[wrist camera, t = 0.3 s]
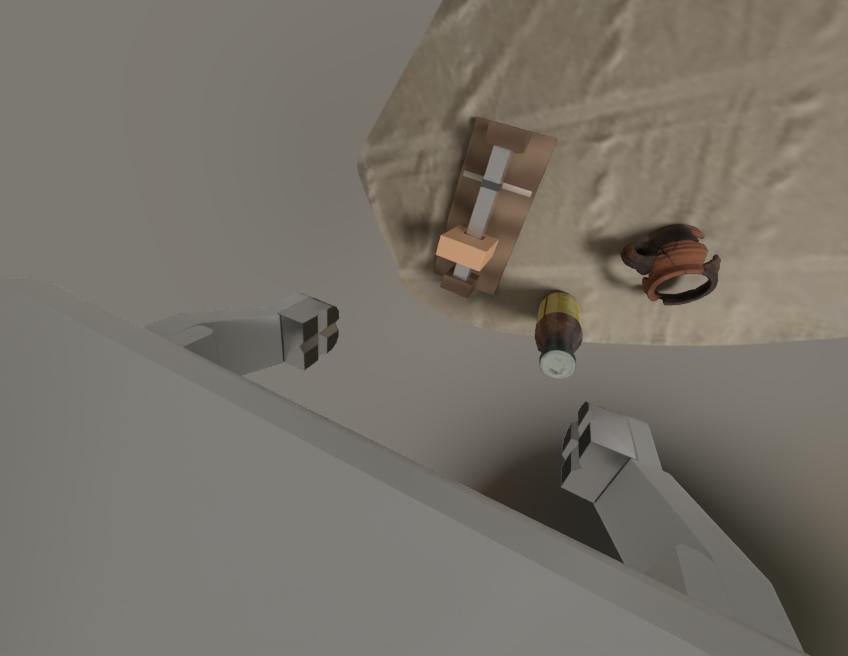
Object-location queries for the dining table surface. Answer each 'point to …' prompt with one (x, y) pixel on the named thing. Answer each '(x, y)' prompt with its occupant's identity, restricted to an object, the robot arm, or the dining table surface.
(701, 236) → the broken clay pot
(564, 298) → the sauce bottle
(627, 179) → the dining table surface
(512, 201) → the rod stand
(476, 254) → the collar
